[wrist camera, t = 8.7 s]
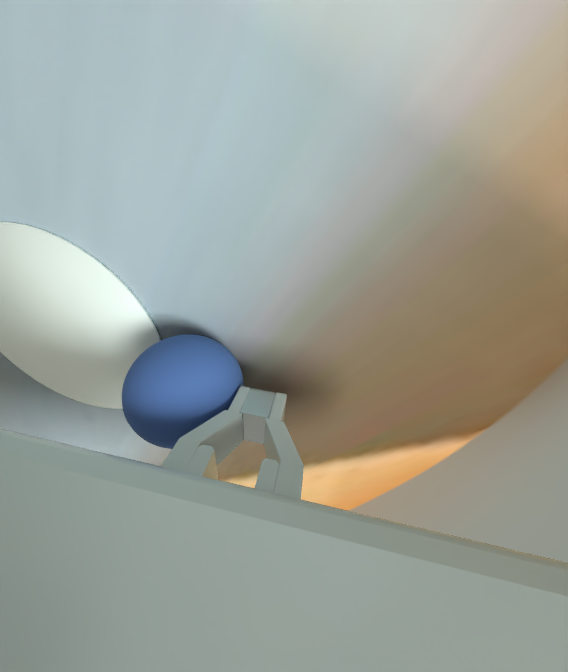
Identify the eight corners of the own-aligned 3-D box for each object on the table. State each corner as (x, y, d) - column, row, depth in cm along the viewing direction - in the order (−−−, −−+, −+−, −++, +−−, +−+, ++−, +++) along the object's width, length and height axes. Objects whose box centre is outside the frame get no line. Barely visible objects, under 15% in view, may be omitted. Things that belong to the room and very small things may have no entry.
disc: (30, 393, 18) (27, 394, 18) (-100, 210, 11) (-107, 210, 11) (180, 418, 17) (179, 420, 17) (135, 234, 10) (132, 235, 10)
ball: (224, 378, 16) (134, 406, 13) (221, 309, 13) (105, 326, 10) (259, 440, 12) (143, 498, 9) (265, 363, 9) (100, 413, 6)
